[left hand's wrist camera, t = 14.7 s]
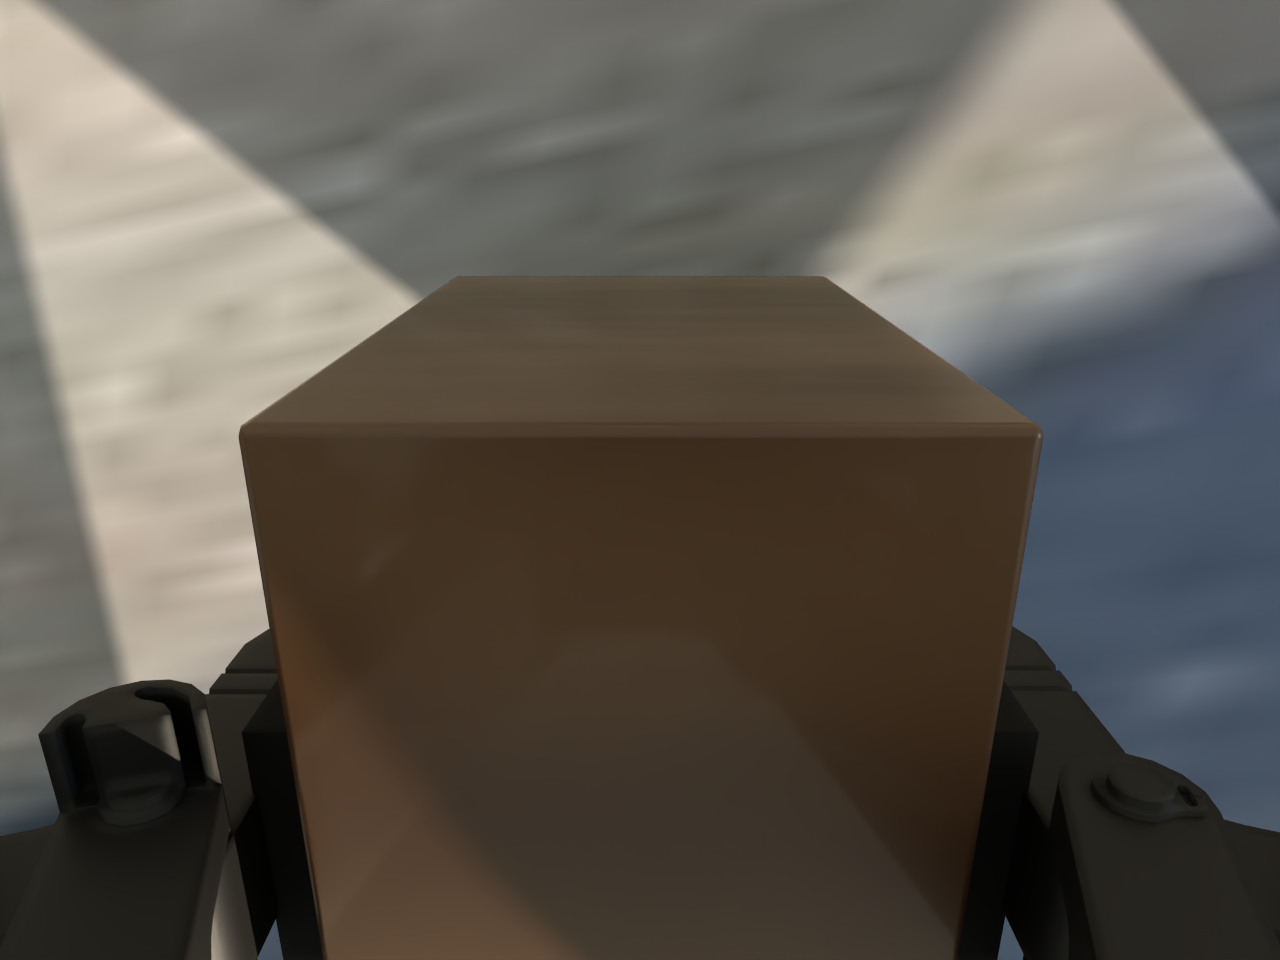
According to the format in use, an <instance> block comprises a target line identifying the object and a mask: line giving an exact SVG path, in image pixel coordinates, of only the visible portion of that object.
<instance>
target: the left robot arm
mask: <svg viewBox="0 0 1280 960" xmlns="http://www.w3.org/2000/svg"><path fill="white" fill-rule="evenodd" d="M209 690H210V692H209V694H204V693H202V692H201V691H200V690H199V689H197V688H196V687H195V686H193V685H192V684H188V683H183V682H179V681H174V680H151V681H139V682H134V683H130V684H126V685H121V686H117V687H113V688H109V689H106V690H104V691H101V692H99V693H96V694H94V695H92V696H89V697H87V698H84V699H82V700H79V701H78V702H76V703H75V704H73V705H72V706H70V707H68V708H67V709H65V710H64V711H62V712H61V713H59V714H58V715H56V716H54V717H53V719H52V720H51V721H50V722H49V723H48V724H47V725H46V727H45V728H44V729H43V730H42V731H41V732H40V733H39V739H40V742H41V746H42V749H43V753H44V756H45V760H46V764H47V767H48V771H49V774H50V778H51V781H52V785H53V789H54V792H55V796H56V799H57V803H58V806H59V810H60V814H59V816H58V819H57V821H56V823H55V824H53V825H49V826H46V827H42V828H38V829H34V830H29V831H24V832H20V833H15V834H10V835H5V836H1V837H0V960H257V957H258V955H259V953H260V951H261V949H262V947H263V945H264V943H265V940H266V938H267V936H268V934H269V932H270V930H271V928H272V926H273V923H274V921H275V919H276V922H277V927H278V932H279V938H280V943H281V949H282V954H283V960H323V954H322V947H321V941H320V935H319V929H318V923H317V917H316V910H315V904H314V898H313V892H312V886H311V880H310V873H309V867H308V861H307V855H306V849H305V843H304V836H303V830H302V824H301V818H300V812H299V806H298V800H297V793H296V787H295V781H294V775H293V769H292V763H291V756H290V750H289V744H288V738H287V732H286V726H285V719H284V713H283V707H282V701H281V695H280V689H279V682H278V676H277V670H276V664H275V658H274V652H273V646H272V639H271V633H270V629H268V630H267V631H265V632H263V633H262V634H260V635H259V636H257V637H256V638H254V639H253V640H251V641H249V642H248V643H246V644H245V645H244V646H243V647H242V649H241V650H240V651H239V653H238V654H237V655H236V656H235V658H234V659H233V660H232V661H231V663H230V664H229V665H228V666H227V668H226V672H225V674H221V675H220V676H219V678H218V679H217V680H216V681H215V683H214V684H213V685H212V687H211V688H210V689H209ZM1005 916H1006V918H1007V920H1008V922H1009V924H1010V926H1011V928H1012V930H1013V932H1014V934H1015V937H1016V939H1017V941H1018V943H1019V945H1020V947H1021V949H1022V951H1023V953H1024V955H1023V960H1280V832H1275V831H1270V830H1265V829H1261V828H1256V827H1251V826H1246V825H1242V824H1238V823H1235V822H1231V821H1227V820H1224V819H1223V817H1222V815H1221V813H1220V811H1219V810H1218V808H1217V807H1216V805H1215V804H1214V803H1213V801H1212V800H1211V799H1210V797H1209V796H1208V795H1207V793H1206V792H1205V791H1203V790H1202V789H1201V788H1199V787H1198V786H1197V785H1195V784H1194V783H1193V782H1191V781H1190V780H1189V779H1187V778H1186V777H1185V776H1183V775H1182V774H1180V773H1178V772H1176V771H1174V770H1171V769H1169V768H1167V767H1165V766H1163V765H1161V764H1159V763H1156V762H1154V761H1152V760H1148V759H1144V758H1140V757H1136V756H1133V755H1129V754H1126V753H1125V752H1124V751H1123V749H1122V748H1121V747H1120V746H1119V744H1118V743H1117V742H1116V741H1115V739H1114V738H1113V737H1112V736H1111V734H1110V733H1109V732H1108V731H1107V729H1106V728H1105V727H1104V726H1103V724H1102V723H1101V722H1100V721H1099V719H1098V718H1097V717H1096V716H1095V714H1094V713H1093V712H1092V711H1091V709H1090V708H1089V707H1088V706H1087V704H1086V703H1085V702H1084V701H1083V699H1082V698H1081V697H1080V696H1079V694H1078V693H1077V692H1076V691H1072V686H1071V684H1070V683H1069V682H1068V681H1067V679H1066V678H1065V677H1064V676H1063V674H1062V673H1061V672H1060V671H1056V666H1055V664H1054V663H1053V662H1052V661H1051V659H1050V658H1049V657H1048V656H1047V654H1046V653H1045V652H1044V651H1043V649H1042V648H1041V647H1040V646H1039V644H1038V643H1037V642H1036V641H1035V640H1033V639H1032V638H1030V637H1028V636H1027V635H1025V634H1024V633H1022V632H1021V631H1019V630H1017V629H1016V628H1014V627H1013V626H1012V629H1011V635H1010V641H1009V648H1008V654H1007V660H1006V666H1005V672H1004V678H1003V684H1002V690H1001V696H1000V702H999V708H998V714H997V721H996V727H995V733H994V739H993V745H992V751H991V757H990V763H989V769H988V775H987V781H986V787H985V794H984V800H983V806H982V812H981V818H980V824H979V830H978V836H977V842H976V848H975V854H974V860H973V867H972V873H971V879H970V885H969V891H968V897H967V903H966V909H965V915H964V921H963V927H962V933H961V940H960V946H959V952H958V958H957V960H997V957H998V952H999V947H1000V941H1001V936H1002V930H1003V925H1004V920H1005Z"/></svg>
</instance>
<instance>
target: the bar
mask: <svg viewBox="0 0 1280 960" xmlns="http://www.w3.org/2000/svg"><path fill="white" fill-rule="evenodd" d="M1042 441H1043V434H1042V430H1041V427H1040V426H1039V425H1038V424H1036V423H1035V422H1033V421H1032V420H1031V419H1029V418H1028V417H1026V416H1025V415H1023V414H1022V413H1020V412H1019V411H1018V410H1016V409H1015V408H1013V407H1012V406H1010V405H1009V404H1007V403H1006V402H1005V401H1003V400H1002V399H1000V398H999V397H997V396H996V395H994V394H993V393H992V392H990V391H989V390H987V389H986V388H984V387H983V386H982V385H980V384H979V383H977V382H976V381H974V380H973V379H971V378H970V377H969V376H967V375H966V374H964V373H963V372H961V371H960V370H958V369H957V368H956V367H954V366H953V365H951V364H950V363H948V362H947V361H945V360H944V359H943V358H941V357H940V356H938V355H937V354H935V353H934V352H932V351H931V350H930V349H928V348H927V347H925V346H924V345H922V344H921V343H920V342H918V341H917V340H915V339H914V338H912V337H911V336H909V335H908V334H907V333H905V332H904V331H902V330H901V329H899V328H898V327H896V326H895V325H894V324H892V323H891V322H889V321H888V320H886V319H885V318H883V317H882V316H881V315H879V314H878V313H876V312H875V311H873V310H872V309H870V308H869V307H868V306H866V305H865V304H863V303H862V302H860V301H859V300H858V299H856V298H855V297H853V296H852V295H850V294H849V293H847V292H846V291H845V290H843V289H842V288H840V287H839V286H837V285H836V284H834V283H833V282H832V281H830V280H829V279H827V278H825V277H823V276H458V277H455V278H454V279H452V280H451V281H449V282H448V283H446V284H445V285H443V286H442V287H441V288H439V289H438V290H436V291H435V292H433V293H432V294H431V295H429V296H428V297H426V298H425V299H423V300H422V301H420V302H419V303H418V304H416V305H415V306H413V307H412V308H410V309H409V310H407V311H406V312H405V313H403V314H402V315H400V316H399V317H397V318H396V319H394V320H393V321H392V322H390V323H389V324H387V325H386V326H384V327H383V328H381V329H380V330H379V331H377V332H376V333H374V334H373V335H371V336H370V337H369V338H367V339H366V340H364V341H363V342H361V343H360V344H358V345H357V346H356V347H354V348H353V349H351V350H350V351H348V352H347V353H345V354H344V355H343V356H341V357H340V358H338V359H337V360H335V361H334V362H332V363H331V364H330V365H328V366H327V367H325V368H324V369H322V370H321V371H319V372H318V373H317V374H315V375H314V376H312V377H311V378H309V379H308V380H307V381H305V382H304V383H302V384H301V385H299V386H298V387H296V388H295V389H294V390H292V391H291V392H289V393H288V394H286V395H285V396H283V397H282V398H281V399H279V400H278V401H276V402H275V403H273V404H272V405H270V406H269V407H268V408H266V409H265V410H263V411H262V412H260V413H259V414H257V415H256V416H255V417H253V418H252V419H250V420H249V421H247V422H246V423H245V424H243V425H242V426H241V428H240V432H239V442H240V448H241V455H242V461H243V467H244V473H245V479H246V485H247V492H248V498H249V504H250V510H251V516H252V522H253V528H254V535H255V541H256V547H257V553H258V559H259V565H260V572H261V578H262V584H263V590H264V596H265V602H266V609H267V615H268V621H269V627H270V633H271V639H272V646H273V652H274V658H275V664H276V670H277V676H278V682H279V689H280V695H281V701H282V707H283V713H284V719H285V726H286V732H287V738H288V744H289V750H290V756H291V763H292V769H293V775H294V781H295V787H296V793H297V800H298V806H299V812H300V818H301V824H302V830H303V836H304V843H305V849H306V855H307V861H308V867H309V873H310V880H311V886H312V892H313V898H314V904H315V910H316V917H317V923H318V929H319V935H320V941H321V947H322V954H323V960H957V958H958V952H959V946H960V940H961V933H962V927H963V921H964V915H965V909H966V903H967V897H968V891H969V885H970V879H971V873H972V867H973V860H974V854H975V848H976V842H977V836H978V830H979V824H980V818H981V812H982V806H983V800H984V794H985V787H986V781H987V775H988V769H989V763H990V757H991V751H992V745H993V739H994V733H995V727H996V721H997V714H998V708H999V702H1000V696H1001V690H1002V684H1003V678H1004V672H1005V666H1006V660H1007V654H1008V648H1009V641H1010V635H1011V629H1012V623H1013V617H1014V611H1015V605H1016V599H1017V593H1018V587H1019V581H1020V575H1021V568H1022V562H1023V556H1024V550H1025V544H1026V538H1027V532H1028V526H1029V520H1030V514H1031V508H1032V502H1033V496H1034V489H1035V483H1036V477H1037V471H1038V465H1039V459H1040V453H1041V447H1042Z"/></svg>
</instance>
